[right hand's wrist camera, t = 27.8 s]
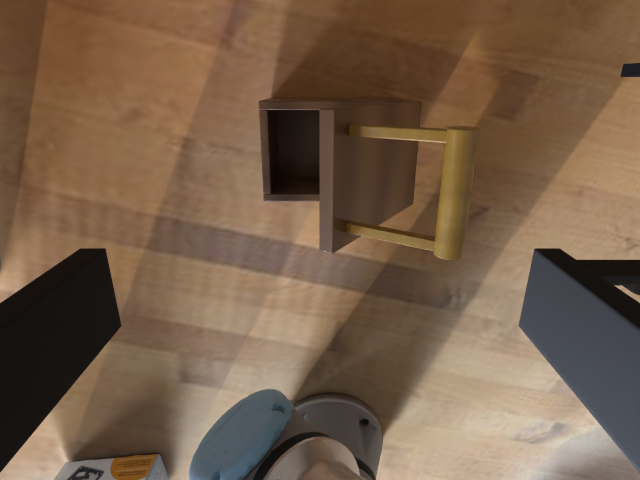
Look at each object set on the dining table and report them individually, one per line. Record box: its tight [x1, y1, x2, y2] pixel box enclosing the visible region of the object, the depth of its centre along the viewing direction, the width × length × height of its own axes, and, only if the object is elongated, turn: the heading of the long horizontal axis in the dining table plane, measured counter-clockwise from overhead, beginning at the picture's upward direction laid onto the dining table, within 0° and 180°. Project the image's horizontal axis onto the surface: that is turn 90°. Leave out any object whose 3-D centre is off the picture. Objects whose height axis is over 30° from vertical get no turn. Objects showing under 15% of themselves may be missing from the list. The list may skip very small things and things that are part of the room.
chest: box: [259, 98, 411, 201], centre depth 42 cm, size 14×9×9 cm, turn 90°
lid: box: [320, 101, 480, 260], centre depth 29 cm, size 14×9×9 cm
